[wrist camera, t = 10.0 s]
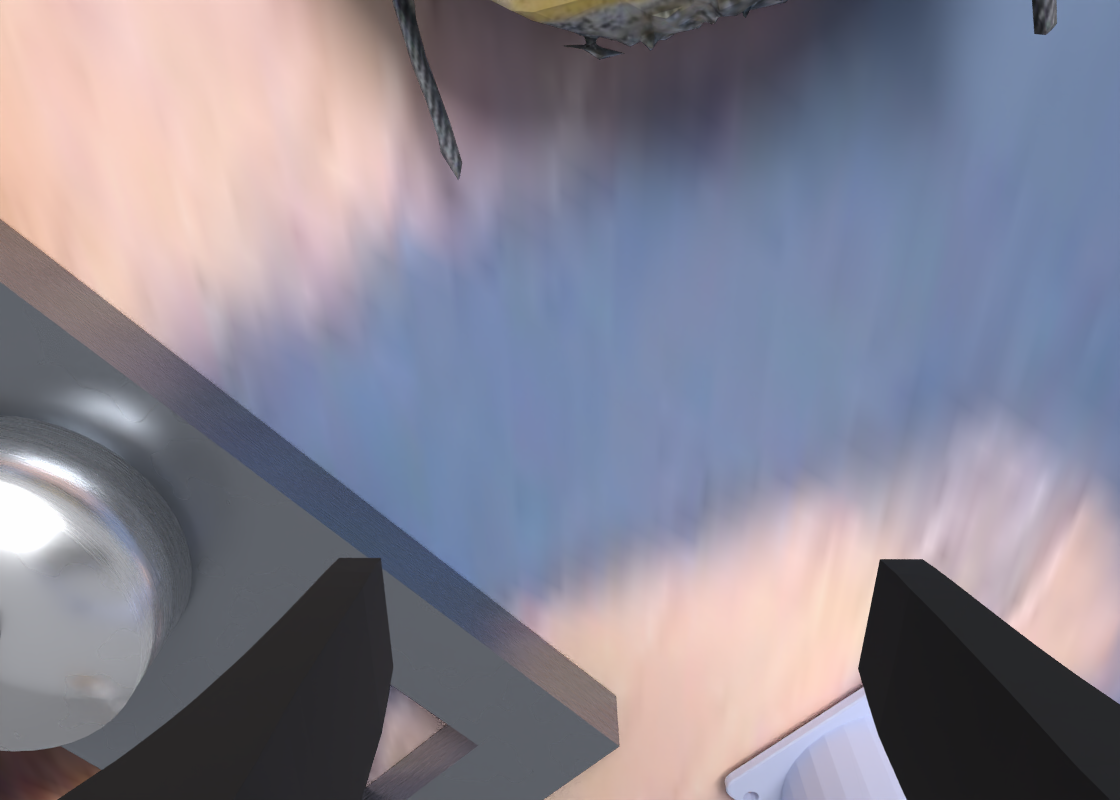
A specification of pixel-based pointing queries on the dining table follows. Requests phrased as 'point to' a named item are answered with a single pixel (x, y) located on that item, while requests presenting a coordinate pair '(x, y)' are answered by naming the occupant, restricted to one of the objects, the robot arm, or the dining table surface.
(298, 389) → the dining table surface
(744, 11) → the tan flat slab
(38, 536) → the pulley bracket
